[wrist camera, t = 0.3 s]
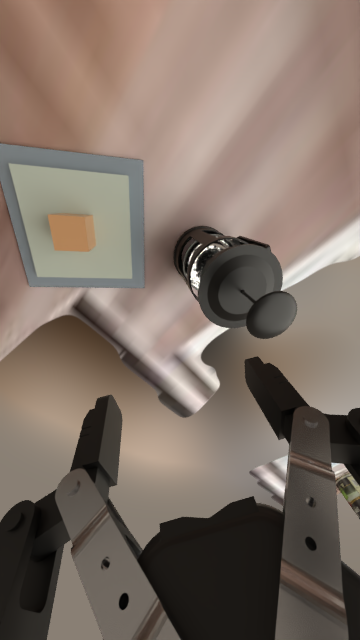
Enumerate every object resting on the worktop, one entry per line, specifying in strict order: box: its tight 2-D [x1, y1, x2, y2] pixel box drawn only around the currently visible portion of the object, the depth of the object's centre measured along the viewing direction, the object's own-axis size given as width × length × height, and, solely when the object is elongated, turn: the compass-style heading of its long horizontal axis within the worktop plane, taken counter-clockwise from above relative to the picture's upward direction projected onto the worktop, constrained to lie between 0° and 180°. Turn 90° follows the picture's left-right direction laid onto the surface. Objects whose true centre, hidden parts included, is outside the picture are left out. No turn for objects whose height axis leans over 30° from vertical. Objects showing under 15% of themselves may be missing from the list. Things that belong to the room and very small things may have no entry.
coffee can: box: [336, 474, 360, 519], centre depth 89 cm, size 10×10×14 cm
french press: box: [174, 226, 297, 339], centre depth 26 cm, size 12×9×23 cm
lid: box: [8, 163, 132, 279], centre depth 28 cm, size 14×14×6 cm
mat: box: [0, 144, 144, 288], centre depth 31 cm, size 18×18×1 cm
